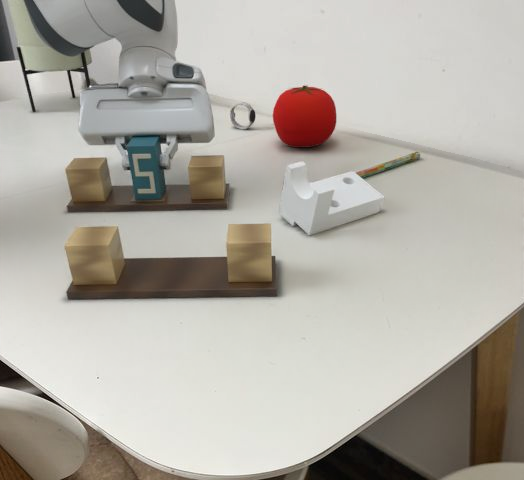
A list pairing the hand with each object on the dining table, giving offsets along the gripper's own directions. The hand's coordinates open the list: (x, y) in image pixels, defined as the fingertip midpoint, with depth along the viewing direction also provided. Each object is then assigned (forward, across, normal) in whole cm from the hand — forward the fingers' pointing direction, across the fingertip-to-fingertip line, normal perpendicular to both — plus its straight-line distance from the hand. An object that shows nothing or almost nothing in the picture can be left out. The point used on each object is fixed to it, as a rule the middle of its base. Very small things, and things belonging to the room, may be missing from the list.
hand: (146, 168), depth 85 cm
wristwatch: (-24, +13, +31) cm, 41 cm away
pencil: (-5, +38, +12) cm, 40 cm away
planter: (-39, -30, +46) cm, 68 cm away
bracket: (+9, +27, -1) cm, 29 cm away
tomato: (-15, +25, +23) cm, 37 cm away
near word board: (+21, +7, -14) cm, 26 cm away
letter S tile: (+2, 0, +3) cm, 4 cm away
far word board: (+3, 0, +4) cm, 5 cm away
